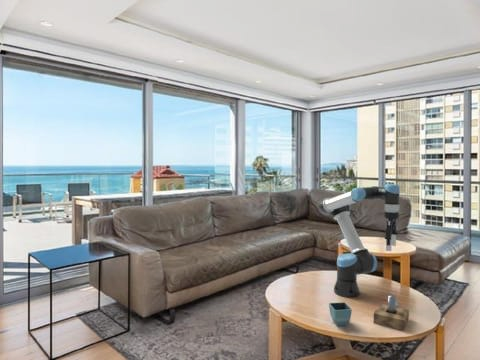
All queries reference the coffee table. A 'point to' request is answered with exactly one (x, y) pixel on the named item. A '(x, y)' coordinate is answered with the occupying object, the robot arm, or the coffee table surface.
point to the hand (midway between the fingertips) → (390, 248)
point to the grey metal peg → (391, 304)
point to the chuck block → (391, 316)
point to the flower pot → (340, 313)
